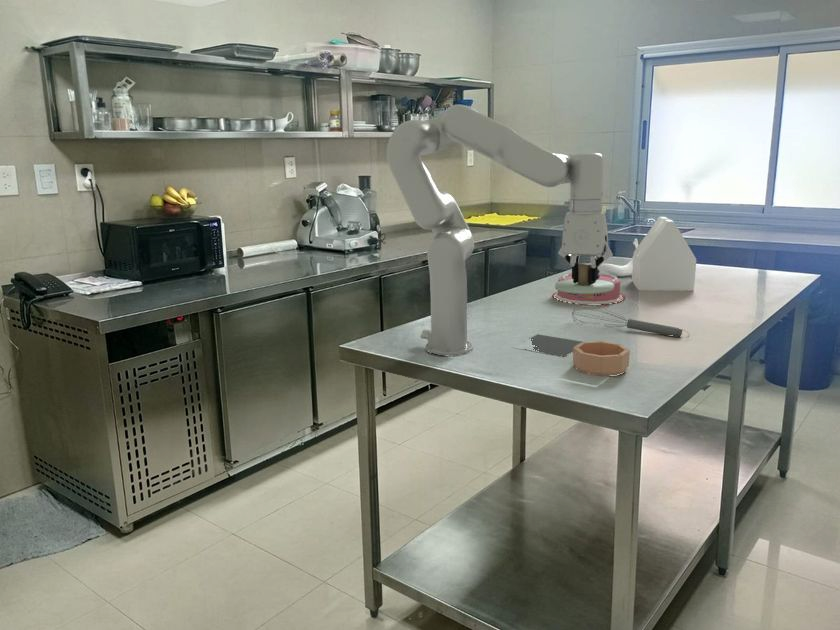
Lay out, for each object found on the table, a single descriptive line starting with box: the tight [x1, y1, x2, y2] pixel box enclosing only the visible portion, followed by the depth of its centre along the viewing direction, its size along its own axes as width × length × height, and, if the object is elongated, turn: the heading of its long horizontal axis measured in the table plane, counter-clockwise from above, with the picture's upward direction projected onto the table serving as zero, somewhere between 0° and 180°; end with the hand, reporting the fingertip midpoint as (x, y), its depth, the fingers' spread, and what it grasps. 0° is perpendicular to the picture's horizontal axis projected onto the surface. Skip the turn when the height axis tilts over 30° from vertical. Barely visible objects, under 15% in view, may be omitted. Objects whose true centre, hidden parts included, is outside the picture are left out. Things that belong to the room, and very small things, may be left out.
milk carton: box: [631, 216, 697, 292], centre depth 246 cm, size 19×15×25 cm
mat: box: [528, 333, 583, 358], centre depth 178 cm, size 15×15×1 cm
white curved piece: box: [600, 238, 639, 277], centre depth 267 cm, size 5×19×15 cm, turn 113°
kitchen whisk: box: [571, 305, 690, 338], centre depth 191 cm, size 6×34×6 cm, turn 56°
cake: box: [551, 268, 627, 306], centre depth 232 cm, size 25×25×11 cm
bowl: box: [572, 340, 631, 376], centre depth 159 cm, size 12×12×5 cm
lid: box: [554, 262, 614, 294], centre depth 162 cm, size 14×14×6 cm
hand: (584, 282), depth 162 cm, fingers closed on lid, 3 cm apart
